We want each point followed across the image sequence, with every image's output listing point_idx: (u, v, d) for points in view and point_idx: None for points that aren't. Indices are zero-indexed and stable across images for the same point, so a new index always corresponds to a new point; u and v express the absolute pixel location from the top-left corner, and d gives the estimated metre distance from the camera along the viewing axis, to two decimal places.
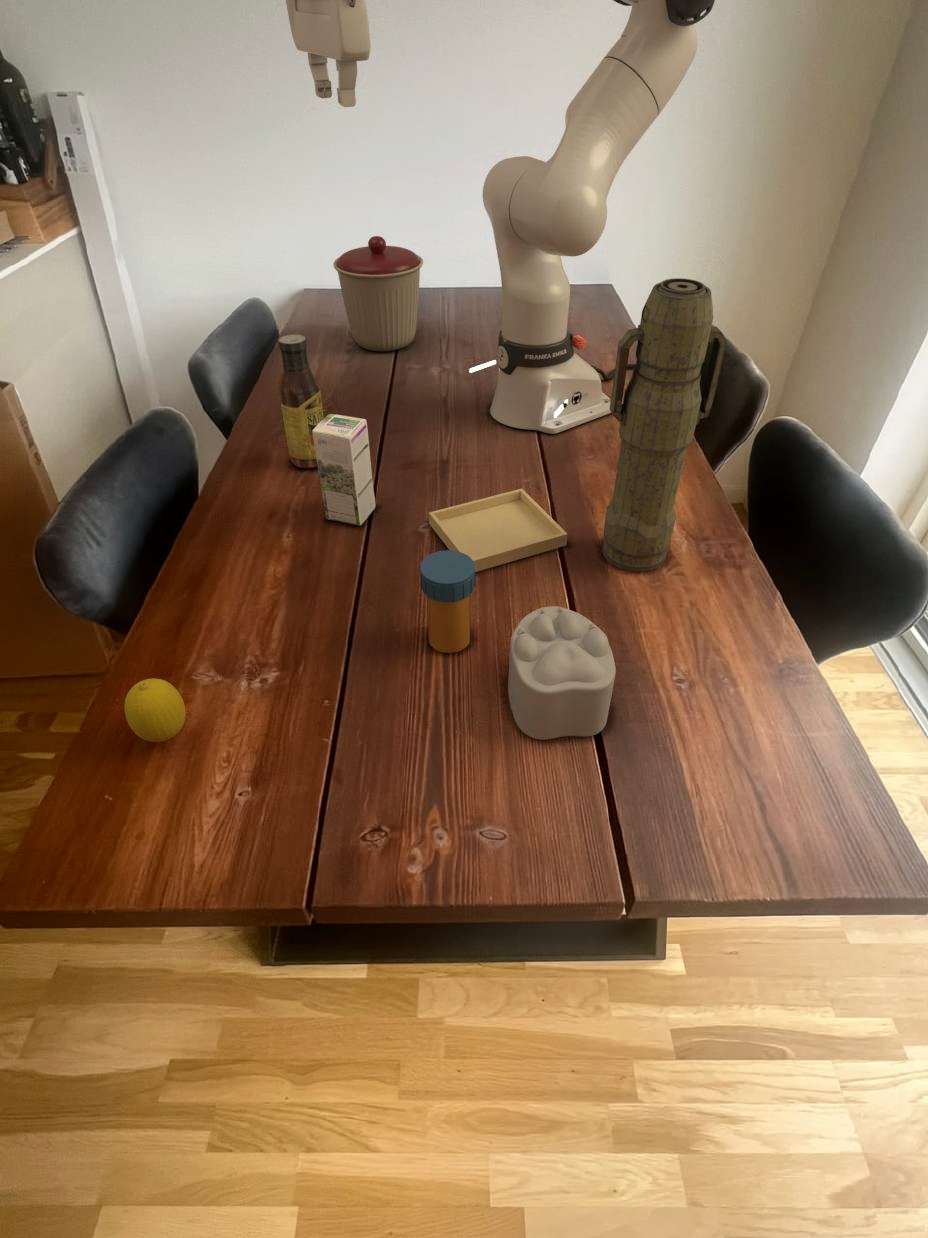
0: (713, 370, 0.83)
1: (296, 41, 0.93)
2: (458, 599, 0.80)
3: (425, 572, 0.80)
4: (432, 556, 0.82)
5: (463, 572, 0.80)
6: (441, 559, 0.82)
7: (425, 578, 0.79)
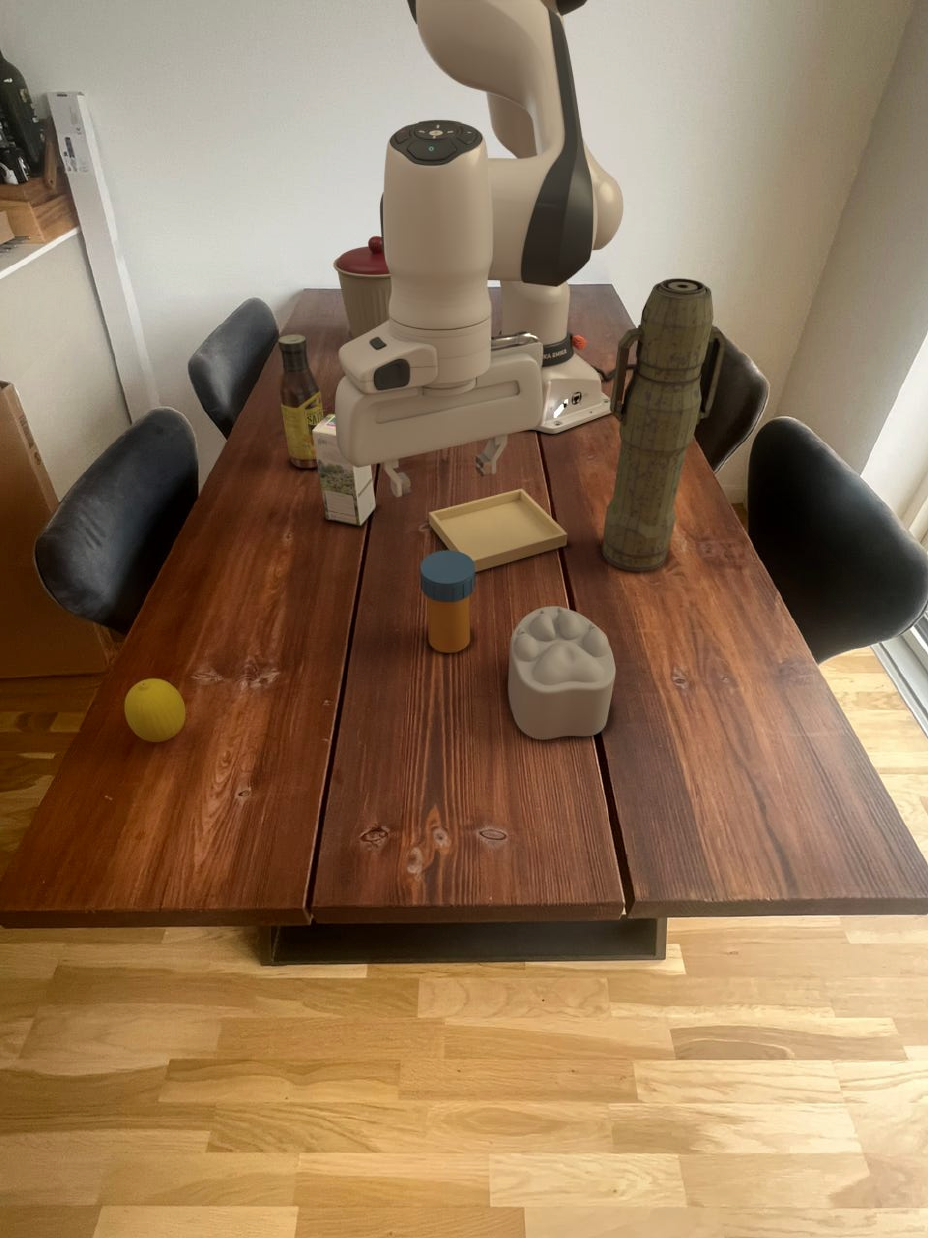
0: (713, 370, 0.83)
1: (367, 458, 0.66)
2: (458, 599, 0.80)
3: (425, 572, 0.80)
4: (432, 556, 0.82)
5: (463, 572, 0.80)
6: (441, 559, 0.82)
7: (425, 578, 0.79)
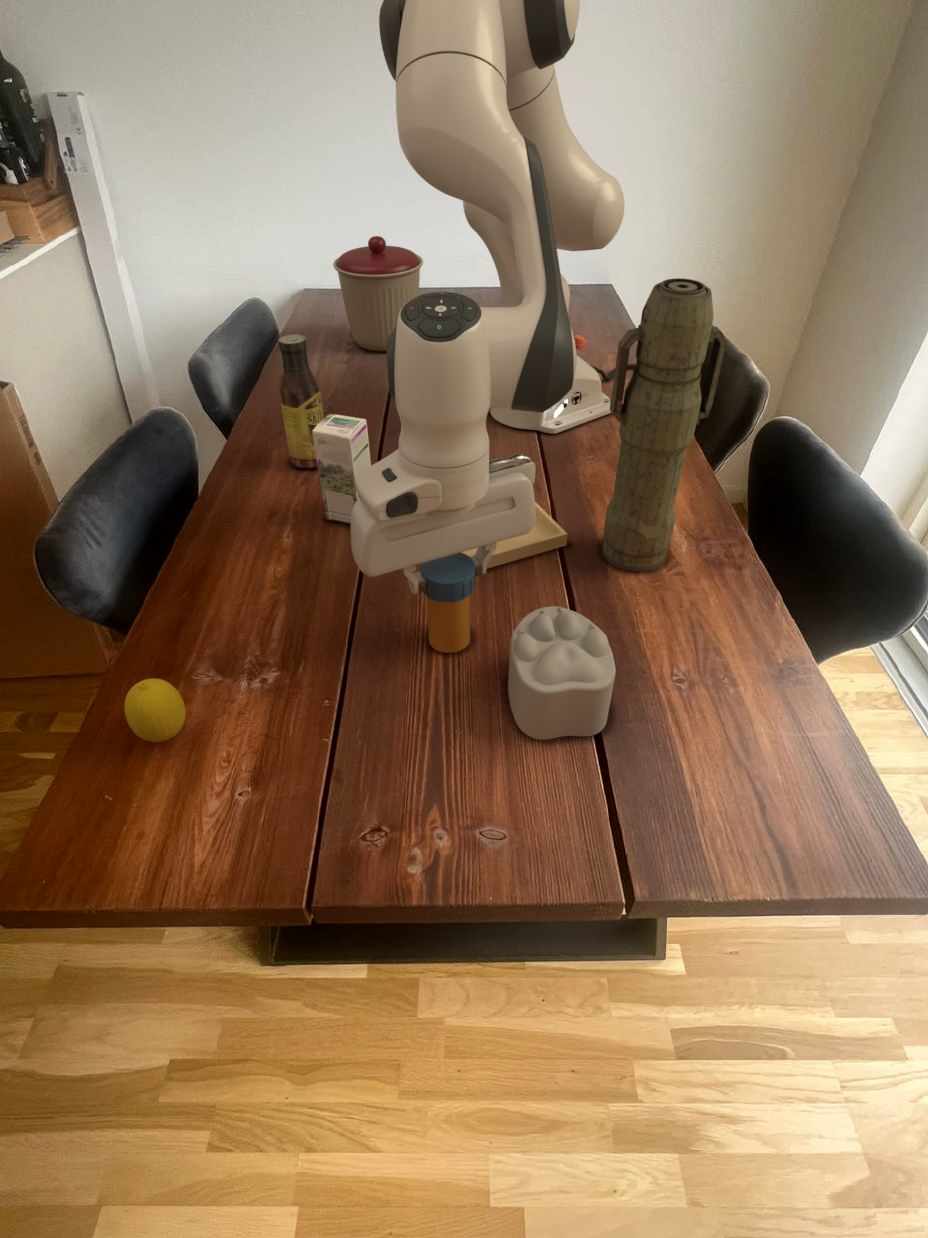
0: (713, 370, 0.83)
1: (379, 569, 0.74)
2: (458, 599, 0.80)
3: (425, 572, 0.80)
4: None
5: (463, 572, 0.80)
6: (441, 559, 0.82)
7: (425, 578, 0.79)
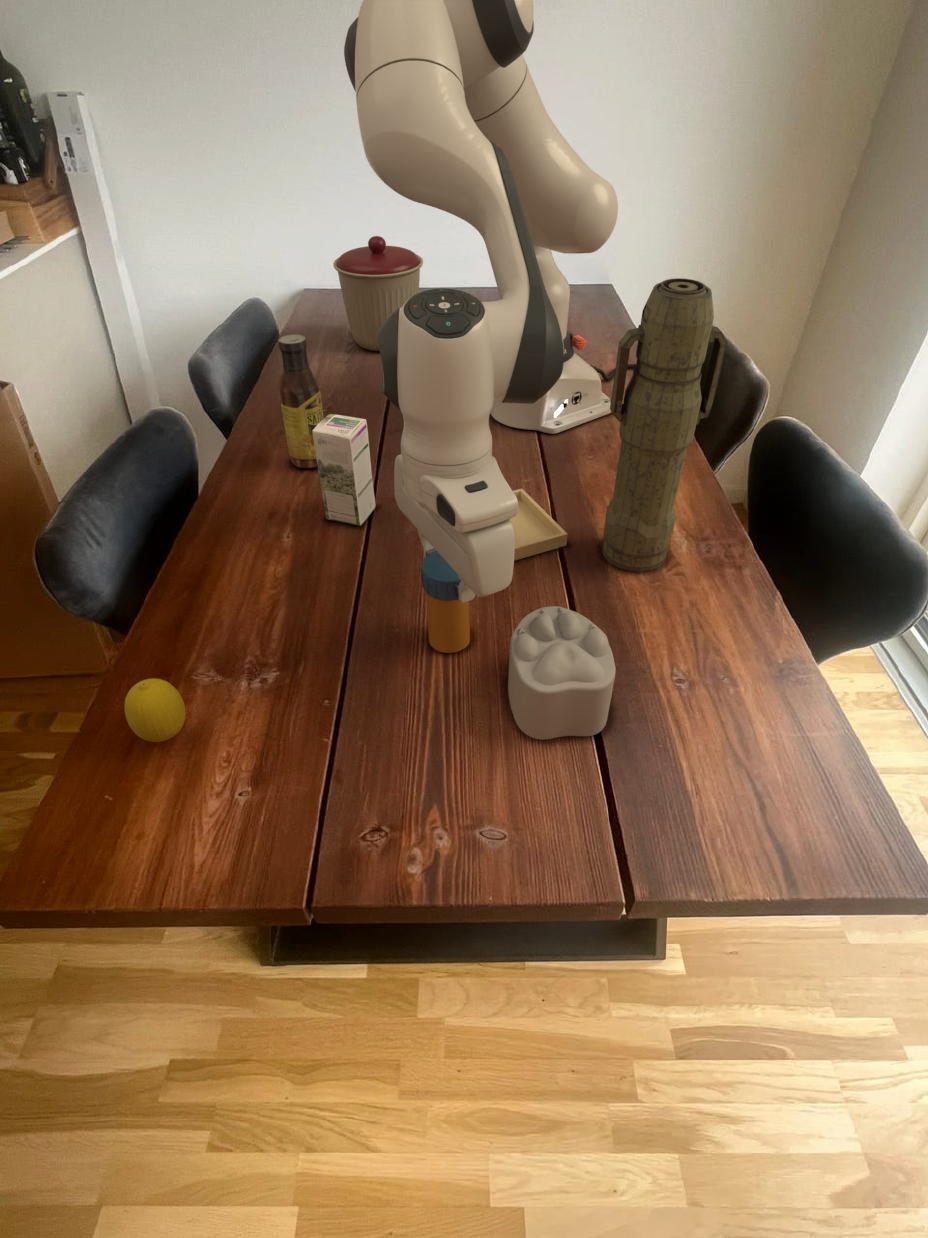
0: (713, 370, 0.83)
1: None
2: None
3: None
4: (432, 574, 0.79)
5: None
6: (437, 568, 0.80)
7: None
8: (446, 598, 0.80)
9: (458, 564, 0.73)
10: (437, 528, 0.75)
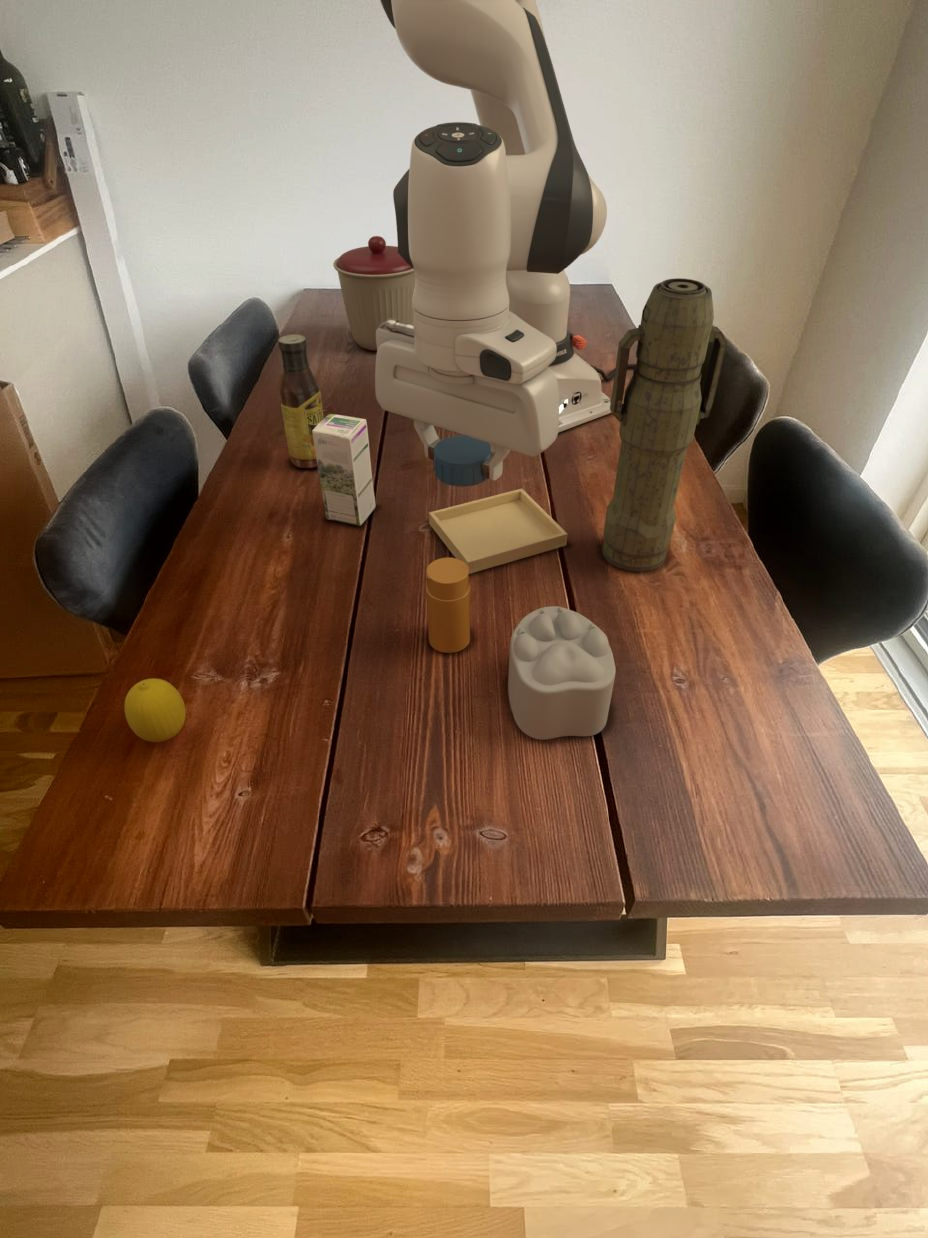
0: (713, 370, 0.83)
1: None
2: None
3: (483, 455, 0.75)
4: (455, 460, 0.74)
5: (463, 439, 0.78)
6: (455, 455, 0.75)
7: (489, 456, 0.75)
8: (474, 482, 0.76)
9: (499, 431, 0.70)
10: (460, 404, 0.71)
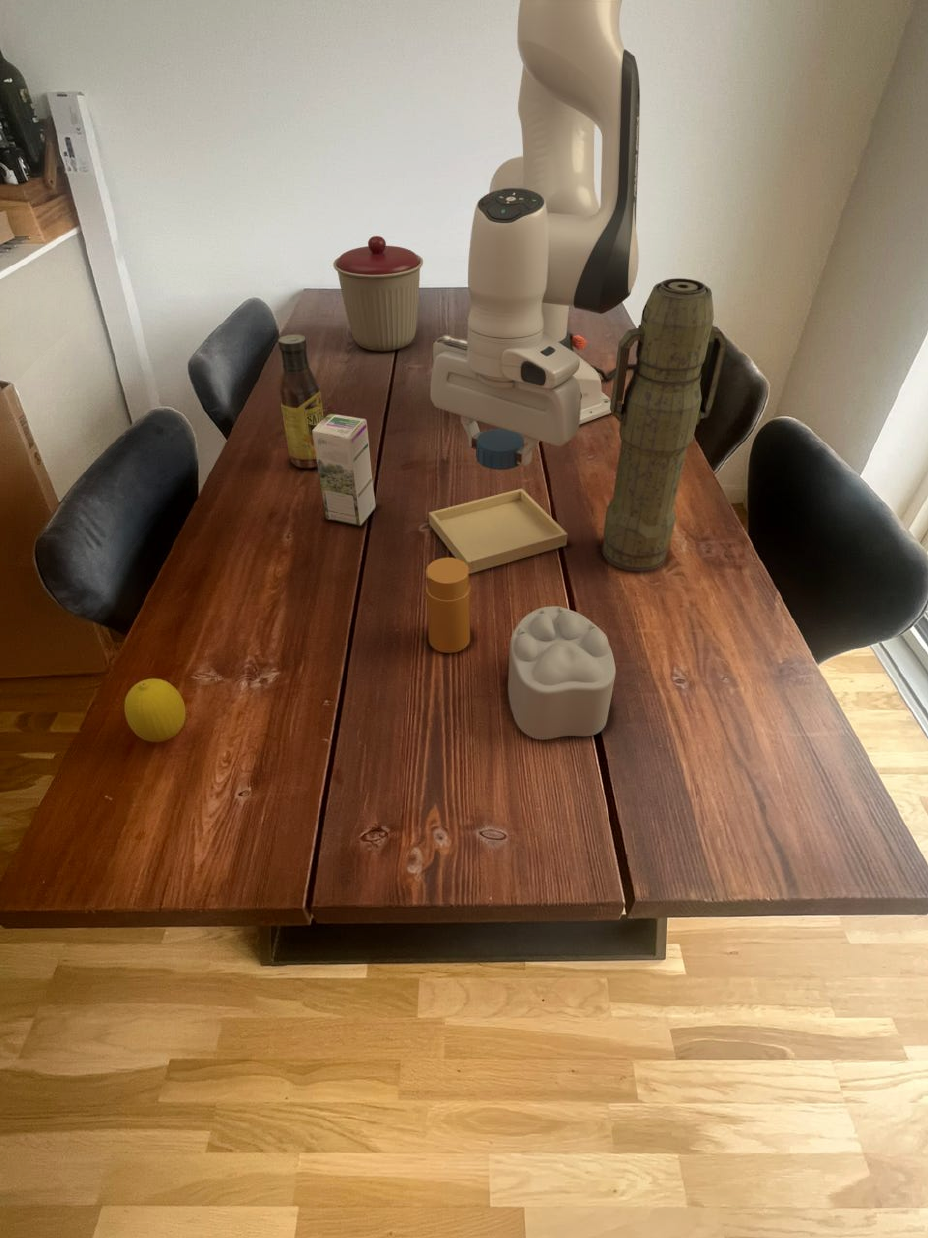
0: (713, 370, 0.83)
1: None
2: None
3: (517, 445, 0.93)
4: (495, 448, 0.92)
5: (500, 432, 0.96)
6: (495, 444, 0.93)
7: (522, 445, 0.94)
8: (509, 467, 0.94)
9: (533, 426, 0.88)
10: (501, 404, 0.89)
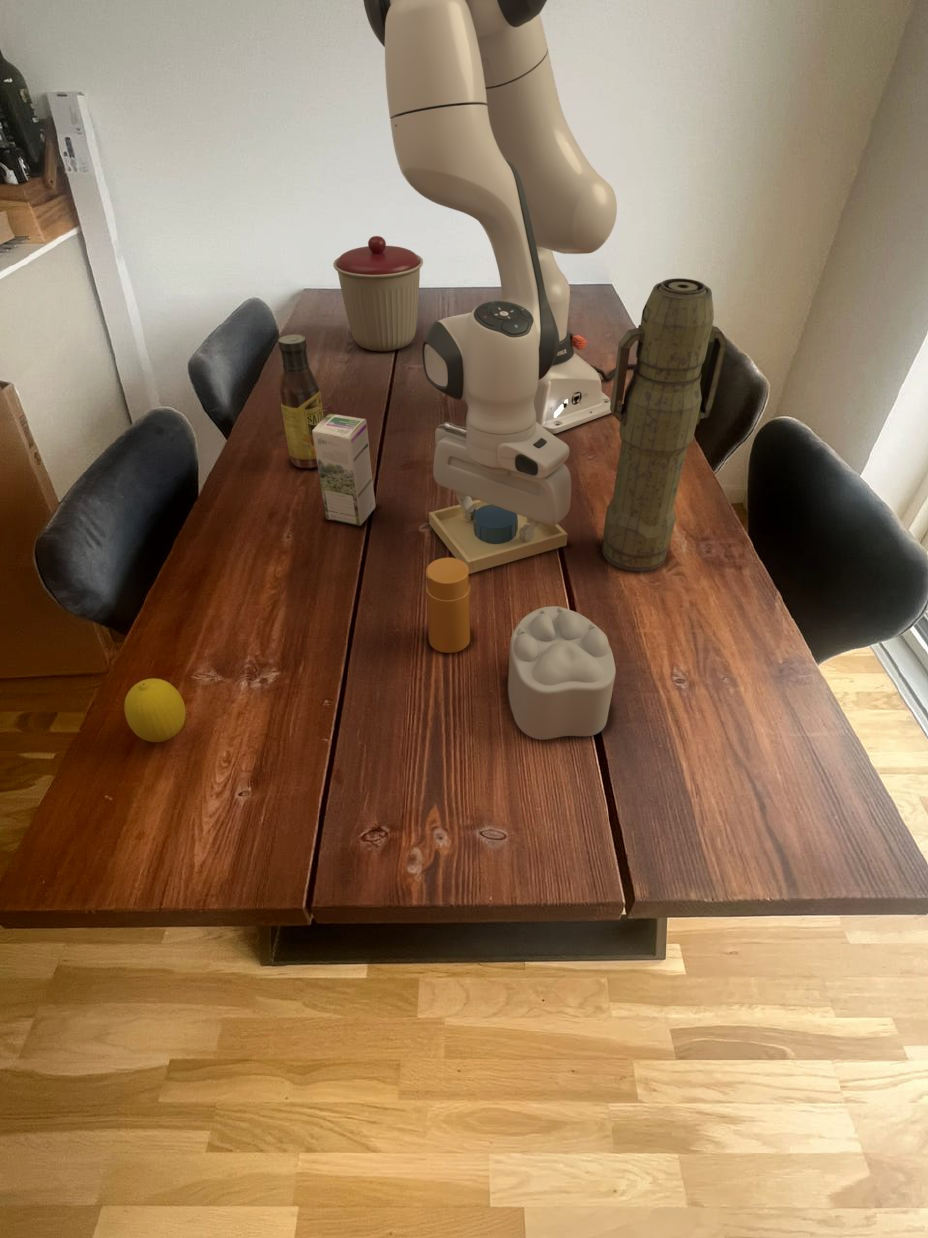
0: (713, 370, 0.83)
1: None
2: None
3: (511, 521, 1.01)
4: (490, 525, 1.00)
5: (496, 507, 1.04)
6: (490, 520, 1.01)
7: (516, 521, 1.01)
8: (504, 541, 1.01)
9: (527, 507, 0.96)
10: (498, 486, 0.97)
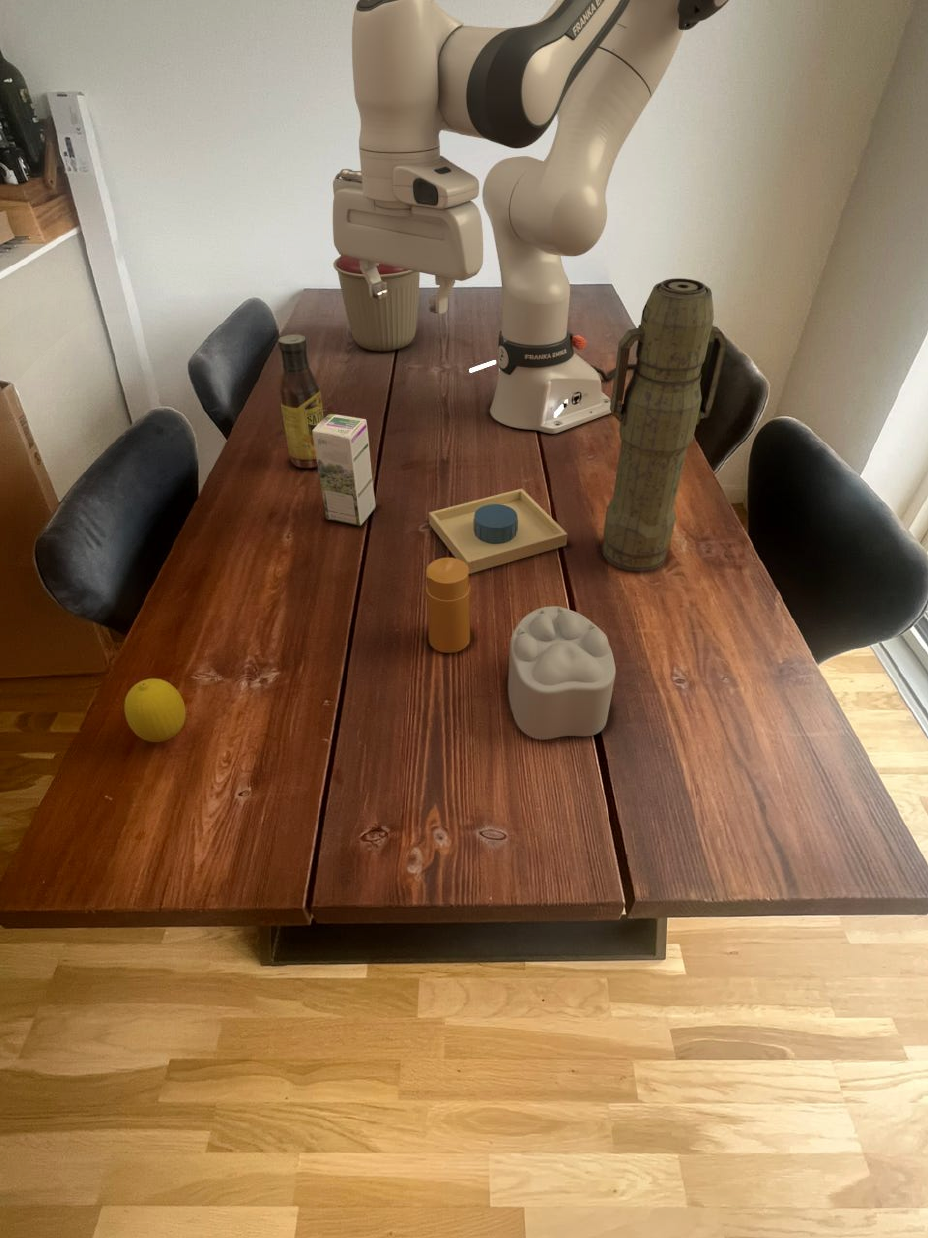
0: (713, 370, 0.83)
1: None
2: None
3: (511, 521, 1.01)
4: (490, 525, 1.00)
5: (496, 507, 1.04)
6: (490, 520, 1.01)
7: (516, 521, 1.01)
8: (504, 541, 1.01)
9: (433, 259, 0.83)
10: (401, 238, 0.84)
